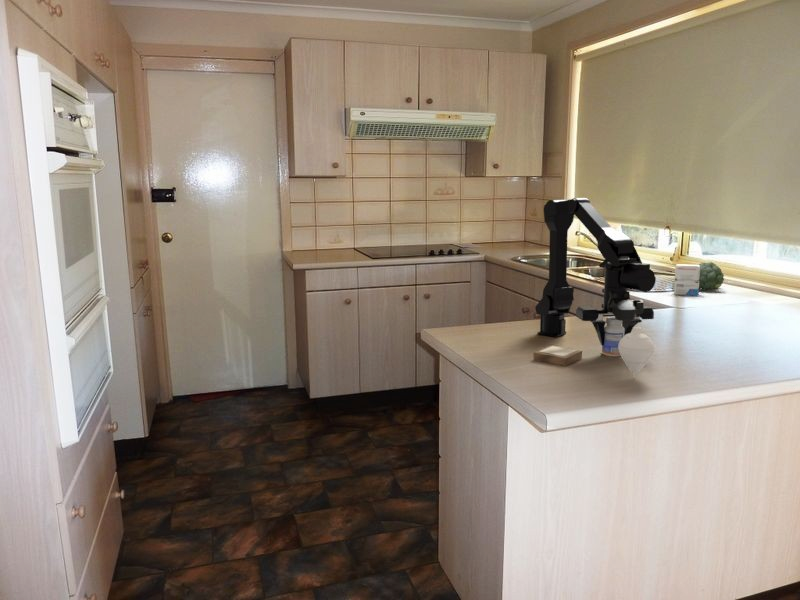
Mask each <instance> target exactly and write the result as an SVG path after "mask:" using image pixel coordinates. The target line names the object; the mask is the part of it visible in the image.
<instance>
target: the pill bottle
mask: <svg viewBox="0 0 800 600" xmlns="http://www.w3.org/2000/svg"><path fill="white" fill-rule="evenodd" d="M605 322H606V323H605V326H604V345H603V346H602V345H601V353H602V354H603V355H604V356H607V357H614V358H615V357H621V355H620V353H619V349H618V345H619V342H620V340H621V339H622V338H623V337H624V334H625V329H624V327H623V326H622V323H623V320H617V319H616V318H615V316H606V320H605Z"/></svg>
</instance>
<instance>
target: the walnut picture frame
mask: <svg viewBox="0 0 800 600" xmlns="http://www.w3.org/2000/svg"><path fill="white" fill-rule="evenodd" d="M533 359H534V360H533ZM533 359H532V360H533V361H537V360H539V361H538V362H542V361H544V362H543V363H547V362H548V364H552V363H553V364H552V365H558V366H564V367H567V366H569V365H571V364H573V363H575V362H577V361H579V360H581V359H583V350H580V349H575V348H569V347H564V346H558V345H552V344H549V345H548V346H546V347H543V348H540V349H538V350H535V351H533Z"/></svg>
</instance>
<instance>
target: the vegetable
mask: <svg viewBox="0 0 800 600" xmlns="http://www.w3.org/2000/svg"><path fill="white" fill-rule="evenodd" d="M698 265H700V276H699V290H701V289H702V290H703V291H705V292H708V291H710V290H712V289H719V288H721V286H722V285H723V284H724V283H723V282H724V281H725V277H724V273H723V272H722V268H721V267H719V266H718V265H717V264H715V263H714V262H701V263H699V264H698Z"/></svg>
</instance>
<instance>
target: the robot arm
mask: <svg viewBox="0 0 800 600" xmlns="http://www.w3.org/2000/svg"><path fill="white" fill-rule="evenodd" d="M543 217H544V218H543V220H544V224H545V225H546V227H547V229H548V230H549V252H548V253H549V254H548V255H549V256H548V257H549V258H548V260H549V262H548V263H549V264H548V266H549V267H548V281H547V282H546V285H544V287H543V290H542V296H541V299H540V300H539V302H538V303H537V304H536V305H535V306H534V307H535V313H536V314H537V315H540V317H539V319H540V320H539V321H540V323H539V324H540V325H539V331H537V335H543V336H548V337H553V338H558V337H560V336H563V335H565V334H567V331H566V321H567V320H566V318H565V314H569V313H570V310H571V307H572V305H573V301H575V300H574V290H575V289H574V286H570V284H569V283H568V279H567V277H568V275H567V270H568V266H567V265H568V232H569V229H570V228H571V226H572V224H573V222H574V218H575V217H576V218H577V219H578V220H579V222H580V223H582V225H583V226H584V227H585V228H586V229H587V231H588V232H589V233H590V234H591V235H592V237H594V239H595V240H596V242H597V245H596V246H597V249H598V251H599V252H600V255H602V258H603V259H604V260H603V261H602V262H601V263H600V264H598V267H600V268H604V282H603V283H604V285H603V288H602V289H601V290H602V293H603V303H601V308H602V309H597V308H595V307H593V306H590V305H588V306H587V305H586V306H584V305H583V306H577V308H576V309H575V317H576V318H577V319H579V320H581V321H583V322H590V323H592V325H593V327H594V329H595V332H596V336H597V338H598V340H599V342H600V346H601V347H602V346H603V345H604V326H605V325H606V324H607V323H606V320H604V317H606V318H607V317H615V318H616V319H617V320H623V323H622V324H621V326H623V327H624V329H625V334H624V336H625V335H626V334H628V333H632V332H633V327H636V325H637V324H638V323H642V322H643V320H654V318H655V311H654V309H653V308H652V307H651V306H647V305H645V303H644V301H643V299H634V300H633V299H632V300H631V297H630V296H631V295H630V291H628V290H632V291H638V292H643V293H649V292H650V291H651V290H652V289H654V286H655V284H656V281H657V277H656V275H655V273H654V271H653V270H652V269H651V265H650V263H643V262H642V260H641V257H640V256H639V254H638V251H637V250H636V247H635V243H634V241H633V239H631V237H629V236H627V235H626V234H625V233H623V232H621V231H618V230H616V229H615V228H613V227H612V226H611V225H610V224H609V223H608V221H607V220H606V219H605V218H604V217H603V216H602V215H601V214H600V213H599V211H597V209H596V208H595V207H594V206H593V205H592V204H591V201H590V199H588V198H586V197H573V198H571V199H567V198H566V199H549V200H548V201H547V202H546V203H545V204H544V206H543Z"/></svg>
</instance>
